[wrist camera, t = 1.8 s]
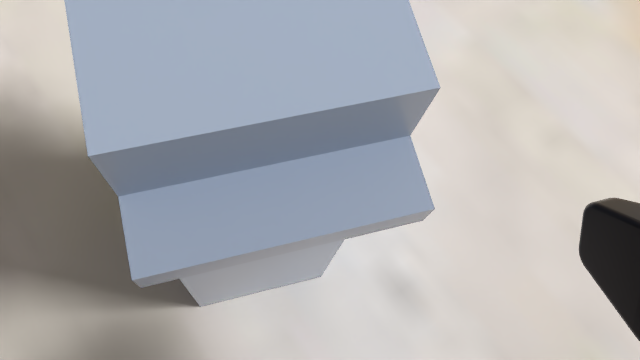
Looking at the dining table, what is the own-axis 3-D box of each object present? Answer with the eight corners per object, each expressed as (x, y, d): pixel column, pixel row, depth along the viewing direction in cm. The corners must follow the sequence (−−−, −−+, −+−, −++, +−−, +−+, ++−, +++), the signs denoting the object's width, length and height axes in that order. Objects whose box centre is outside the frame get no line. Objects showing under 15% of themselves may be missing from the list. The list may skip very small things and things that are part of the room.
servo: (329, 309, 19) (500, 146, 6) (207, 341, 18) (79, 238, 5) (281, 127, 21) (326, -304, 8) (169, 150, 20) (7, -285, 7)
